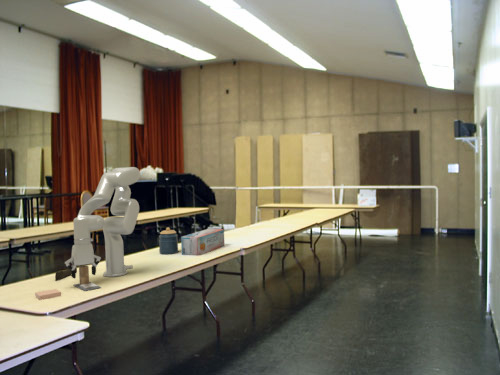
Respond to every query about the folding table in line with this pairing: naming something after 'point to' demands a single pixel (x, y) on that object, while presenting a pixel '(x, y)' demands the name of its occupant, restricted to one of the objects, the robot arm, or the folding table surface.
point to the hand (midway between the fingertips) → (83, 276)
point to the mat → (86, 289)
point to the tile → (47, 294)
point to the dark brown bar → (63, 274)
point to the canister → (168, 242)
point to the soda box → (202, 241)
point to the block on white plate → (85, 278)
